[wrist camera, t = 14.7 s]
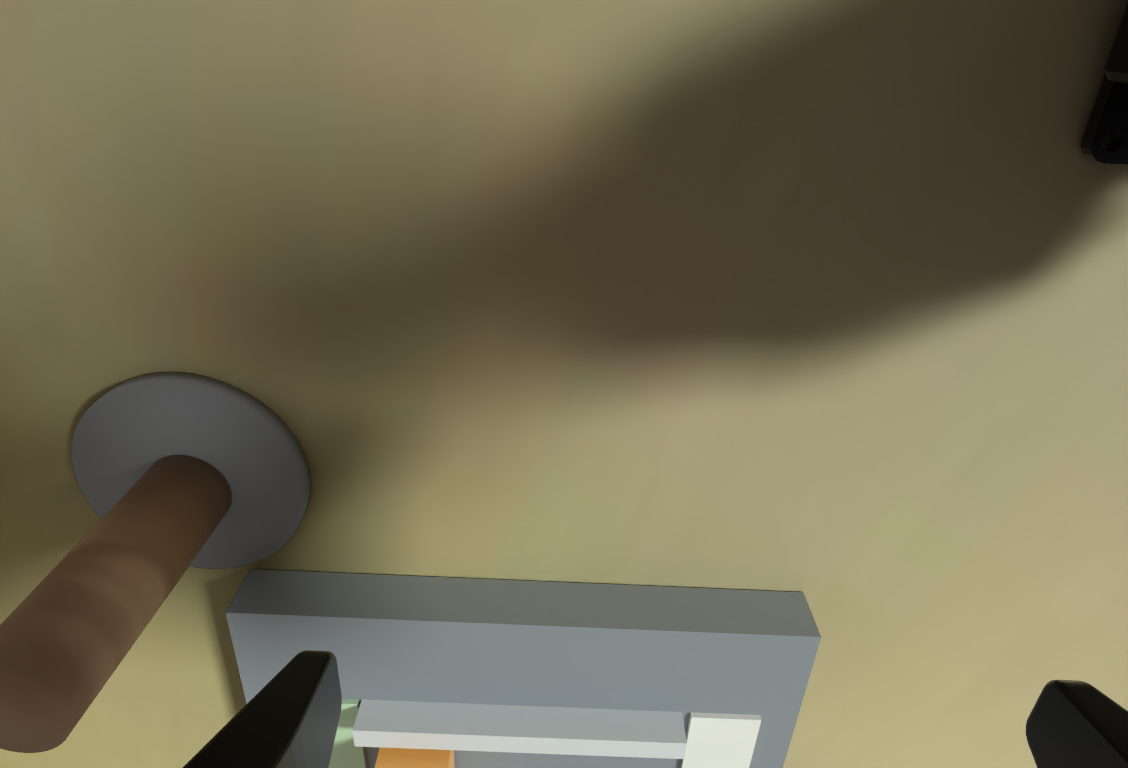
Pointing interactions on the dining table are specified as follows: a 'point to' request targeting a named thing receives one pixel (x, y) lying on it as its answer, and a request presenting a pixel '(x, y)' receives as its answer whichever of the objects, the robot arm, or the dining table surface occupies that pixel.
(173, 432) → the pad
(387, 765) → the orange rectangular block
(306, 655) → the robot arm
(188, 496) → the dowel
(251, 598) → the panel
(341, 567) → the dining table surface
